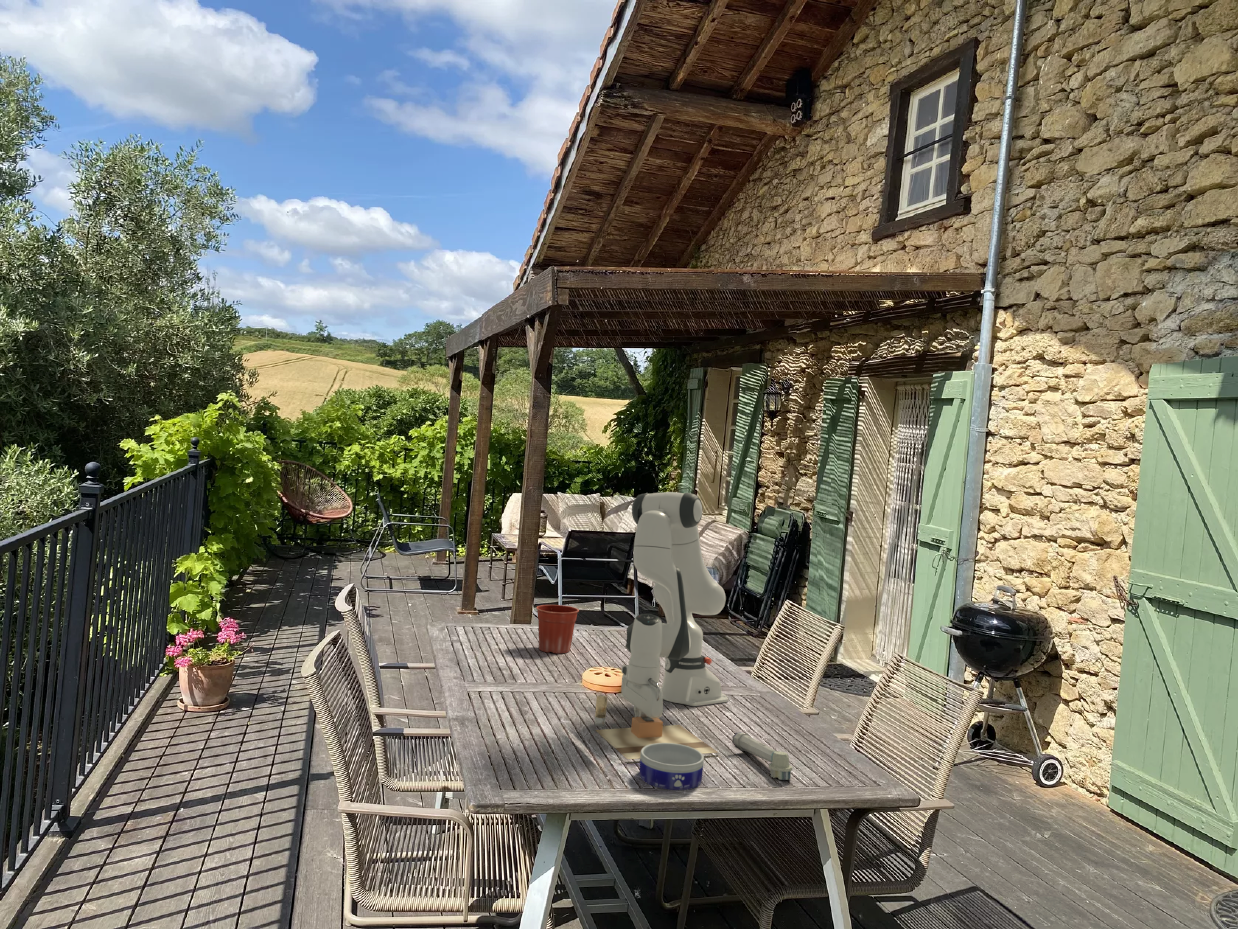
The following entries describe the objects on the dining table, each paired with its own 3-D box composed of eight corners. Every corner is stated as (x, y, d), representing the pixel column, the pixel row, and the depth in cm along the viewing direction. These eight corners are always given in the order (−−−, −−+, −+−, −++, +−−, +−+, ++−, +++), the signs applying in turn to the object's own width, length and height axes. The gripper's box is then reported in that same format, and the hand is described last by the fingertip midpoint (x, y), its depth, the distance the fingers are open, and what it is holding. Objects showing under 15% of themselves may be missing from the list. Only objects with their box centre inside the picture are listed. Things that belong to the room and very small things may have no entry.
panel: (679, 729, 238) (679, 725, 238) (718, 757, 218) (718, 752, 218) (594, 734, 228) (595, 730, 228) (627, 764, 208) (627, 759, 208)
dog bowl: (655, 794, 191) (658, 767, 191) (628, 768, 205) (630, 744, 205) (713, 788, 197) (715, 762, 197) (683, 764, 211) (685, 740, 211)
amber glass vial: (602, 727, 235) (604, 695, 235) (606, 730, 232) (609, 698, 232) (592, 727, 233) (595, 695, 233) (596, 731, 231) (599, 698, 231)
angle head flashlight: (747, 731, 229) (796, 751, 206) (747, 756, 229) (796, 779, 205) (729, 731, 228) (777, 752, 204) (729, 757, 227) (777, 780, 203)
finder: (654, 730, 231) (655, 715, 231) (661, 736, 227) (663, 720, 227) (631, 731, 229) (632, 716, 229) (638, 738, 224) (639, 722, 224)
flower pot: (538, 643, 330) (541, 602, 330) (579, 647, 328) (582, 607, 328) (528, 652, 314) (531, 610, 314) (571, 657, 312) (574, 614, 312)
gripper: (670, 684, 223) (666, 735, 223) (639, 664, 242) (635, 712, 242) (649, 685, 221) (644, 737, 221) (619, 665, 240) (615, 713, 240)
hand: (639, 723), depth 232 cm, fingers closed
